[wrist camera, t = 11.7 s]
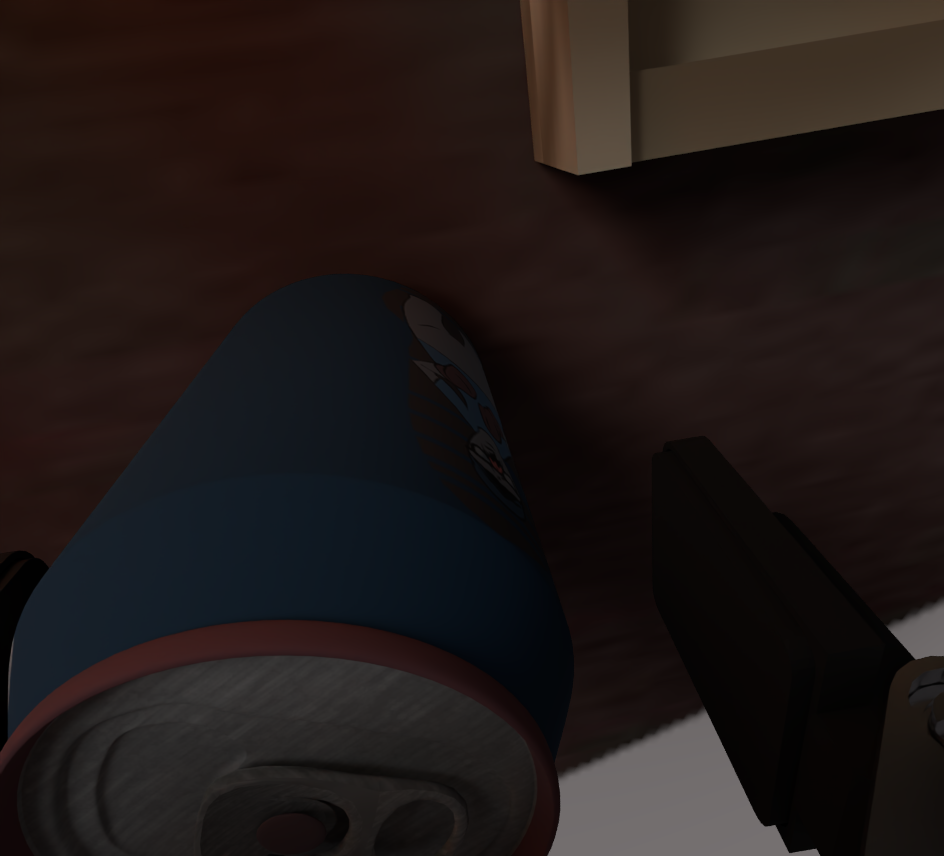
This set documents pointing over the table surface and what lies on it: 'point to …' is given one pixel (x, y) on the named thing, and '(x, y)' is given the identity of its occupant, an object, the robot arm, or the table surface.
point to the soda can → (300, 613)
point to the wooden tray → (719, 72)
